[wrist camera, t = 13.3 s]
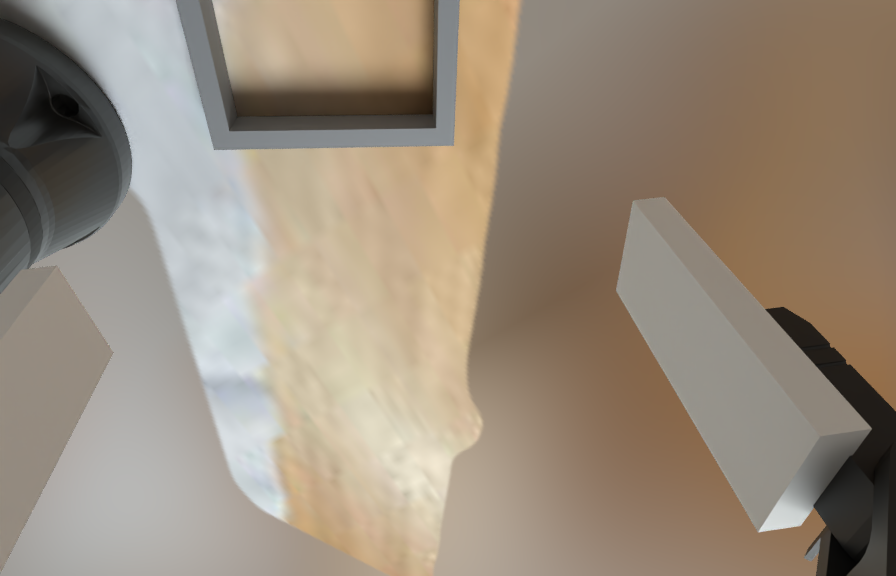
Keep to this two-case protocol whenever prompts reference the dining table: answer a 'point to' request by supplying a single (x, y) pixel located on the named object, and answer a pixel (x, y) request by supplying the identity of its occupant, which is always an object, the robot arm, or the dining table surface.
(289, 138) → the cup caddy
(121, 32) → the dining table surface
